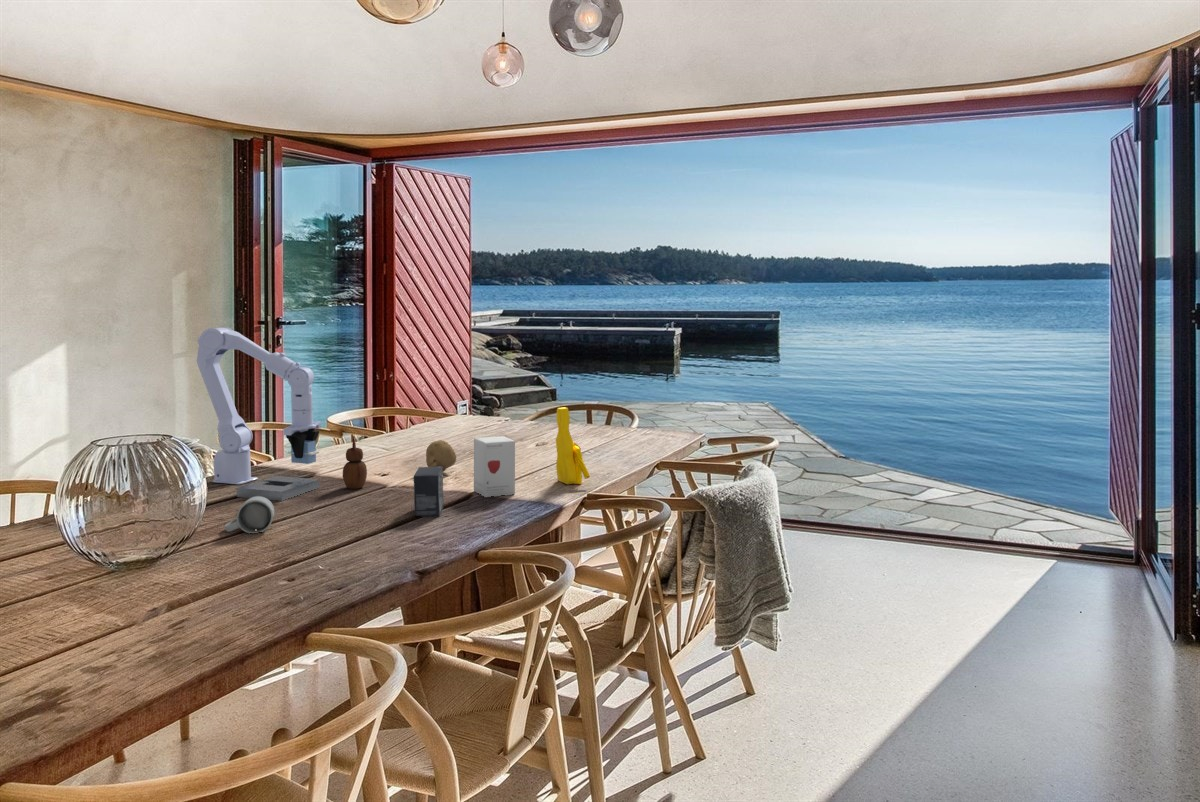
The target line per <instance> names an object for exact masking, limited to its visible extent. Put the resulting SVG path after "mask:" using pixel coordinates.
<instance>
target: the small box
mask: <svg viewBox="0 0 1200 802" xmlns="http://www.w3.org/2000/svg"><path fill="white" fill-rule="evenodd" d="M413 501H414V502H413V504H414V505H413V508H414V517H415V516H421V517H423V518H424V517H425V518H426V517H427V516H439V517H440V516H441V514H442V513H443V509H444V506H445V503H444V502H445V501H444V472H443V467H428V466H424V467H423V466H419V467H418V468H417V470H416V472H415V473H414V474H413ZM421 517H420V518H421Z"/></svg>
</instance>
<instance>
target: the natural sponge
mask: <svg viewBox="0 0 1200 802" xmlns="http://www.w3.org/2000/svg"><path fill="white" fill-rule="evenodd" d="M425 458H426V459H425V461H426V465H427V466H426V467H443V473H444V472H445V471H446V470H447V469H448V468H450V467H452V466H454V465H455V464H456V462H457V455H456V452H455V450H454V449H453V447H452V445H451V444H450V443H448V442H447V441H445V440H442V439H441V440H436V441H435V440H434V441H432V442H431V443H430V444H428V446H427V447H426V451H425Z"/></svg>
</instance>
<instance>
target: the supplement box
mask: <svg viewBox="0 0 1200 802" xmlns="http://www.w3.org/2000/svg"><path fill="white" fill-rule="evenodd" d="M515 479H516V441H515V440H513V439H511V438H509V437H507V436H504V435H503V436H489V437H488V436H485V437H474V438H473V491H474V492H475V493H477V494H478V493H479V495H480V494H481V495H480V496H482V497H483V496H484V498H492V497H491V496H494V497H502V496H501V495H505V496H511V495H512V494H516V481H515ZM512 496H513V495H512Z"/></svg>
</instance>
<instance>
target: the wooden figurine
mask: <svg viewBox="0 0 1200 802" xmlns="http://www.w3.org/2000/svg"><path fill="white" fill-rule="evenodd" d="M345 459H346V461H347V462H346V463H345V464H344V466H343V467H342V479H343V482H344V485H345V487H346V488H348V489H351V490H358V489H362V488H364V486H365V485H366V480H367V478H368V477H367V475H368V470H367V469H368V468H367V465H366V463H365V462H364V461H363V459H364V451H363V449H362V448H360V447H357V446H356V439H355V436H354V435H353V436H352V446H351V447H349V448H348V449H347V450H346V452H345Z"/></svg>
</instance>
